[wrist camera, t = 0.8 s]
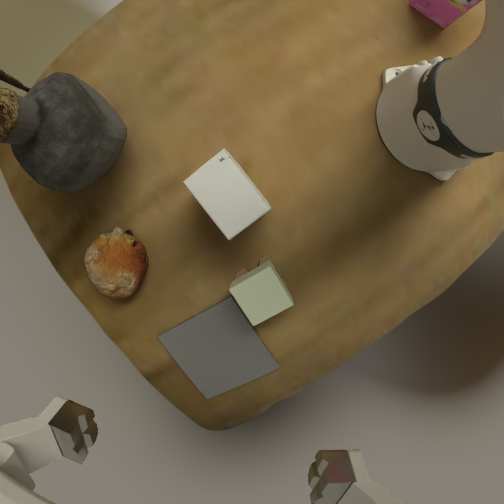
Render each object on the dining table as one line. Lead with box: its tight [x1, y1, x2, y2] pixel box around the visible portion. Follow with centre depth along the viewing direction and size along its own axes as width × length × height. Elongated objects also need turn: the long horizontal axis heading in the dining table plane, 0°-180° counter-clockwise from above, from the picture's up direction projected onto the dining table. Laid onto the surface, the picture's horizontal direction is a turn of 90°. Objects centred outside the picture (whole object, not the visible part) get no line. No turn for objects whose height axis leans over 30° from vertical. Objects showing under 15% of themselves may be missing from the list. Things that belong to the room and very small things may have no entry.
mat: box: [157, 296, 280, 399], centre depth 44 cm, size 14×14×1 cm
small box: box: [183, 149, 271, 240], centre depth 35 cm, size 8×6×10 cm
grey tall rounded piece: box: [0, 69, 127, 193], centre depth 24 cm, size 11×19×30 cm, turn 40°
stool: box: [229, 254, 293, 326], centre depth 38 cm, size 6×6×8 cm
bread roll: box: [84, 227, 148, 299], centre depth 40 cm, size 10×10×8 cm
